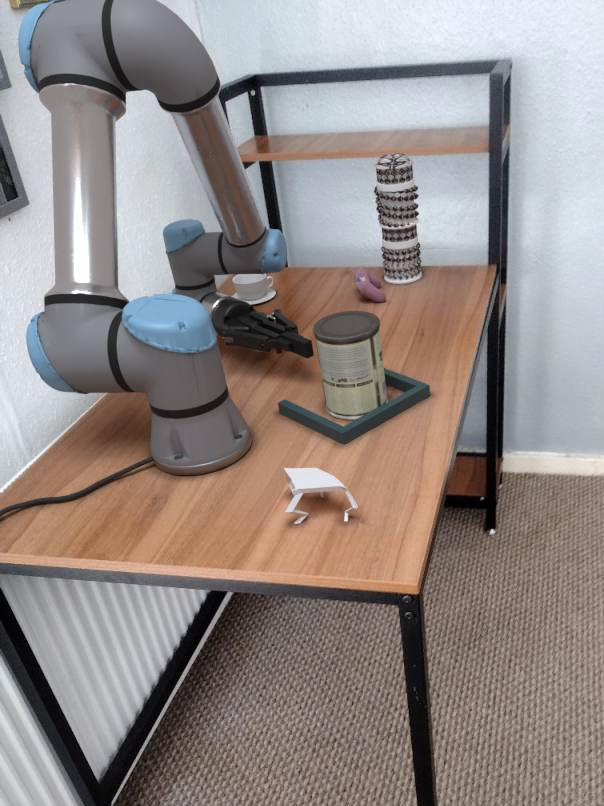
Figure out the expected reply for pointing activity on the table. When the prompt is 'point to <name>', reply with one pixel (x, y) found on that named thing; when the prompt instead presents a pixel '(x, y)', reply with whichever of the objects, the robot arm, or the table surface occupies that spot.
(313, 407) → the table surface
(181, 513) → the table surface
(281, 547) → the table surface
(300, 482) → the origami figure
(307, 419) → the teal u-shaped frame
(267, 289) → the teacup
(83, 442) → the table surface
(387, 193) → the decorative candle
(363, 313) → the coffee can
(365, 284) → the video game controller
